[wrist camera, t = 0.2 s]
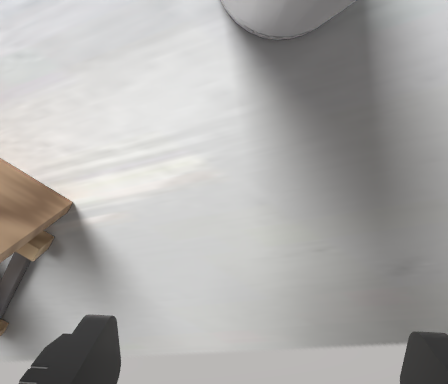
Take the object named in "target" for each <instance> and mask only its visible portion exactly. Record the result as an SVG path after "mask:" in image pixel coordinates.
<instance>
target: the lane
mask: <svg viewBox="0 0 448 384" xmlns="http://www.w3.org/2000/svg"><path fill="white" fill-rule="evenodd" d="M72 203H73V202H72V201H70V200H68V199H67V198H65V197H63V196H62V195H60V194H58V193H57V192H55V191H53V190H52V189H50V188H48V187H47V186H45V185H44V184H42V183H40V182H39V181H37V180H35V179H34V178H32V177H30V176H29V175H27V174H25V173H24V172H22V171H20V170H19V169H17V168H16V167H14V166H12V165H11V164H9V163H7V162H6V161H4V160H2V159H1V158H0V263H1V262H2V261H4V260H5V259H6V258H8V257H9V256H10V255H12V254H13V253H14V254H13V256H12V258H11V261H10V263H9V265H8V267H7V269H6V271H5V273H4V275H3V277H2V279H1V281H0V336H1V335H2V334H3V333H4V332H5V330H6V328H7V326H8V324H9V323H7V322H5V321H4V320H2V319H1V318H2V316H3V314H4V312H5V310H6V308H7V306H8V304H9V302H10V300H11V298H12V296H13V295H14V293H15V291H16V289H17V287H18V285H19V283H20V281H21V279H22V277H23V275H24V273H25V271H26V269H27V267H28V265H29V263H30V261H35V260H36V259H37V258H38V257H39V256H40V255H41V254H43V253H44V252H45V251H46V250H47V249H48V248H49V246H50V244H51V243H52V241H53V239H54V236H52V235H50V234H48V233H47V232H45V231H43V230H45V229H46V228H47V227H49V226H50V225H51V224H53V223H54V222H55V221H57V220H58V219H59V218H61V217H62V216H63V215H65V214H66V213H67V212H68V210H69V208H70V207H71V205H72Z"/></svg>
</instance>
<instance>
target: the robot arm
mask: <svg viewBox="0 0 448 384" xmlns="http://www.w3.org/2000/svg"><path fill="white" fill-rule="evenodd" d="M355 1H357V0H221V2H222V4H223V6H224V8H225V9H226V11H227V12H228V14H229V15H230V16H231V17H232V18H233V19H234V21H235V22H236V23H237V24H239V25H240V26H241V27H243V28H244V29H245V30H247V31H248V32H250V33H252V34H255V35H257V36H259V37H262V38H268V39H273V40H281V39H291V38H295V37H298V36H302V35H305V34H306V33H308V32H311V31H313V30H314V29H316V28H318V27H319V26H321V25H322V24H323V23H325V22H326V21H328V20H329V19H331V18H332V17H334V16H335V15H337V14H338V13H340V12H341V11H342V10H344V9H345V8H347V7H348V6H350V5H351V4H352V3H354V2H355ZM120 367H121V357H120V347H119V338H118V328H117V320H116V318H115V316H105V315H86V316H85V317H84V318H83V319H82V320H81V322H80V323H79V324H78V326H77V327H76V329H75V330H74V332H73V333H72V334H62V335H61V336H60V337H58V338H57V339H56V340H54V341H53V342H52V343H50V344H49V345H48V346H47V347H45V348H44V349H43V351H42V352H41V353H40V355H39V356H38V357H37V359H36V360H35V361H34V362H33V364H32V365H31V368H30V369H28V370H27V371H26V373H25V374H24V376H23V377H22V378H21V379H20V381H19V384H117V381H118V378H119V373H120ZM400 384H448V335H447V334H445V333H433V332H412V333H411V334H410V336H409V339H408V344H407V349H406V353H405V357H404V362H403V366H402V371H401V375H400Z"/></svg>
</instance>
